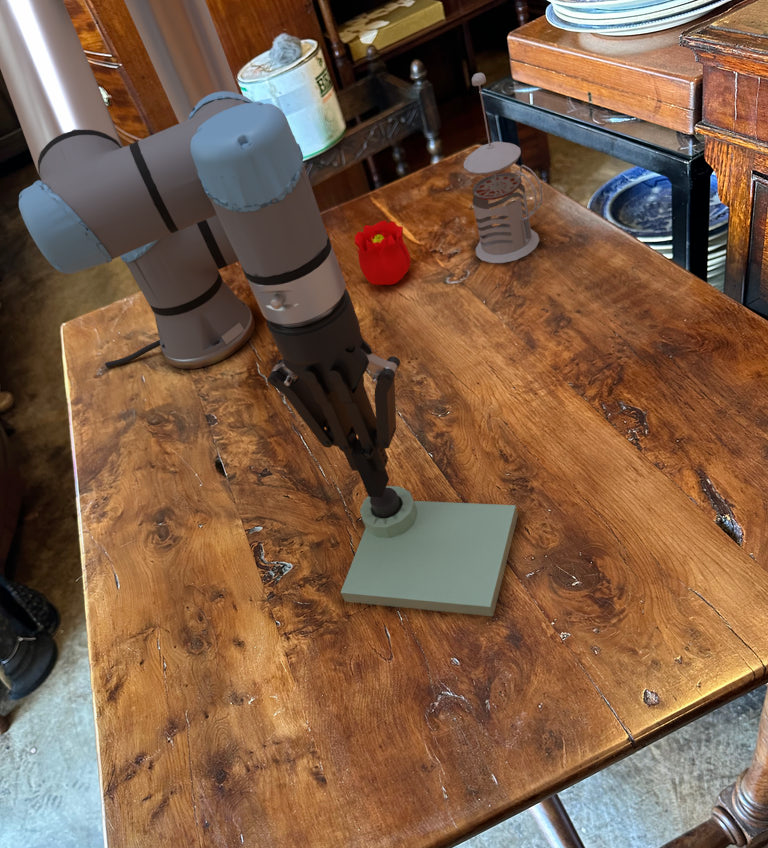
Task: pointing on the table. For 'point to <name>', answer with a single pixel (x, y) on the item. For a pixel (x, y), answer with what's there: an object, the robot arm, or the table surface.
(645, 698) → the table surface
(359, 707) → the table surface
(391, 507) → the button
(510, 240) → the french press
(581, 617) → the table surface
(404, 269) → the flower
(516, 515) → the scale
